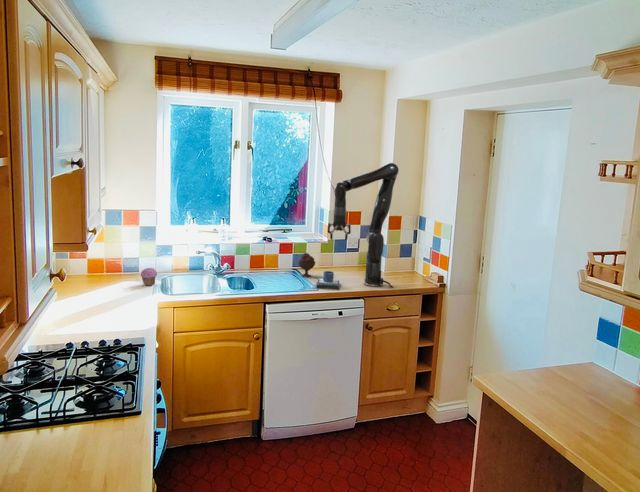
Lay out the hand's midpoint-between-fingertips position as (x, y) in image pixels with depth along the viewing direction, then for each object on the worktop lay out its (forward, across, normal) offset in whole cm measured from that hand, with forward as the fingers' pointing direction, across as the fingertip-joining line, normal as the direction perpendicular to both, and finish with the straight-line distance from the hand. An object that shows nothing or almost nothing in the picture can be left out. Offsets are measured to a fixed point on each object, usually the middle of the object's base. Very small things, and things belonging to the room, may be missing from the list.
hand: (338, 240), depth 289 cm
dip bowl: (+23, -5, -12) cm, 27 cm away
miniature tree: (+26, -20, +8) cm, 34 cm away
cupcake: (+26, -108, -33) cm, 116 cm away
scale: (+26, -5, -13) cm, 30 cm away
